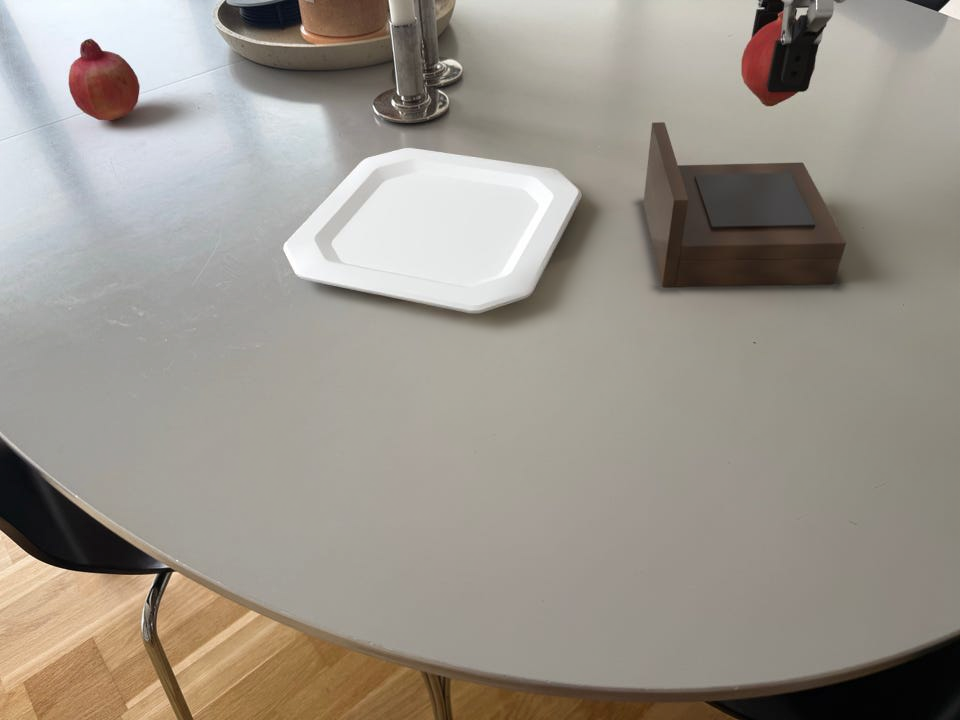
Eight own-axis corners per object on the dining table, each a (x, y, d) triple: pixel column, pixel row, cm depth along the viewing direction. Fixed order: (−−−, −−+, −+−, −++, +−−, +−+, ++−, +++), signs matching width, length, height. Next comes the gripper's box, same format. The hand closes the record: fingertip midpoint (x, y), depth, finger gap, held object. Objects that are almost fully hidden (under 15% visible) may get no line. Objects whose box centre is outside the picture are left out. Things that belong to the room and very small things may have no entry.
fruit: (150, 125, 102) (123, 45, 95) (82, 138, 100) (50, 57, 93) (147, 99, 108) (121, 22, 101) (82, 111, 106) (52, 33, 99)
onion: (750, 85, 73) (767, -9, 68) (814, 99, 70) (838, 3, 65) (723, 110, 70) (739, 14, 64) (790, 126, 67) (812, 27, 62)
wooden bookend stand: (793, 200, 83) (814, 118, 77) (833, 284, 73) (861, 196, 67) (643, 204, 84) (652, 122, 78) (662, 287, 74) (673, 200, 67)
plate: (517, 337, 69) (517, 317, 68) (265, 285, 76) (260, 266, 75) (591, 191, 86) (592, 172, 85) (379, 159, 93) (377, 141, 92)
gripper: (934, -160, 49) (854, 119, 61) (848, -207, 62) (796, 32, 74) (807, -155, 50) (753, 122, 62) (748, -202, 62) (712, 35, 75)
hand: (777, 71), depth 68 cm, fingers closed on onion, 5 cm apart
